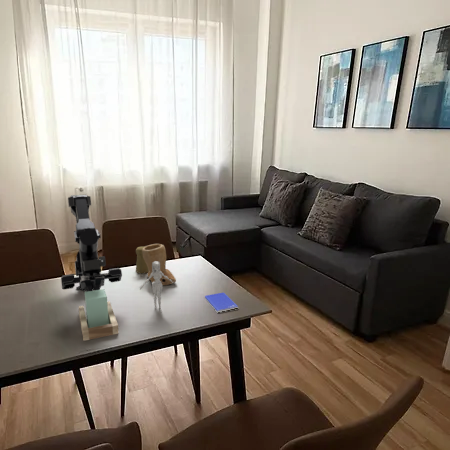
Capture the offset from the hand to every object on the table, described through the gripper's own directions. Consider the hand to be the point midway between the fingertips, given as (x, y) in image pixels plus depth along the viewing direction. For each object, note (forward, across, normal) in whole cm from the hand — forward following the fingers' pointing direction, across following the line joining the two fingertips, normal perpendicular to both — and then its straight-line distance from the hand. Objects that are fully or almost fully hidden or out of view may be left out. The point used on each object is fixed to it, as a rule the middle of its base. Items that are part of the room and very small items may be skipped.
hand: (95, 302), depth 118 cm
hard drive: (+8, +43, +3) cm, 44 cm away
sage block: (+6, 0, +2) cm, 7 cm away
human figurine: (+5, +20, +5) cm, 21 cm away
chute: (+7, 0, +2) cm, 8 cm away
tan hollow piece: (-13, +27, +23) cm, 38 cm away
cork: (-22, +24, +32) cm, 45 cm away
